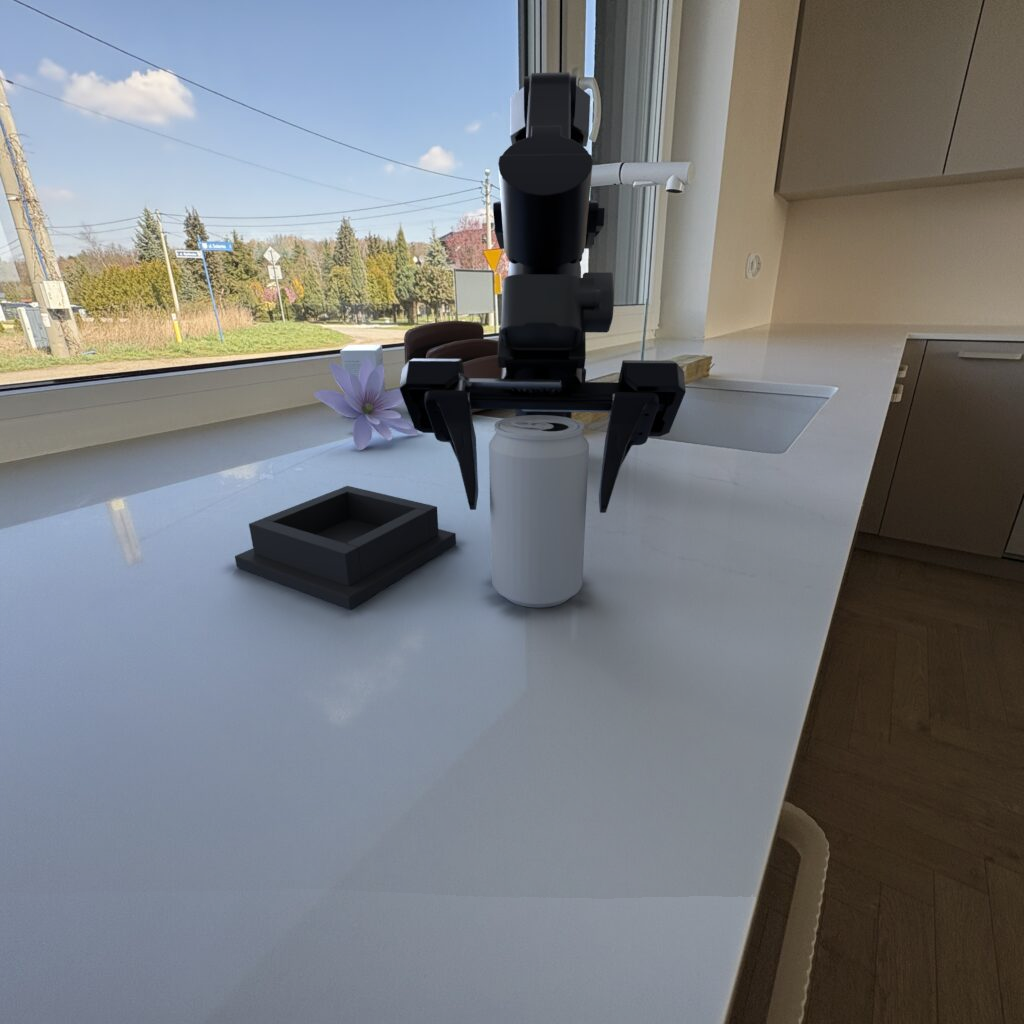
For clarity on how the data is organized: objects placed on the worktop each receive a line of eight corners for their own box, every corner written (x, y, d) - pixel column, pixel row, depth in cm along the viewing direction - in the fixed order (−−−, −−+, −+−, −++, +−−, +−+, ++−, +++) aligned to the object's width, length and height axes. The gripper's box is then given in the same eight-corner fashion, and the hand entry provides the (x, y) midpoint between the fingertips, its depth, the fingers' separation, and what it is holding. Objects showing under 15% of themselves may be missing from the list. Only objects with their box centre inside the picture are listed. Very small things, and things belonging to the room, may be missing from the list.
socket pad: (351, 515, 53) (347, 480, 52) (456, 543, 47) (454, 504, 46) (236, 567, 43) (227, 525, 42) (350, 610, 38) (344, 563, 36)
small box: (354, 407, 99) (348, 344, 95) (387, 406, 99) (382, 344, 95) (346, 417, 91) (338, 349, 87) (381, 416, 92) (375, 349, 88)
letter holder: (407, 412, 95) (400, 324, 89) (481, 395, 110) (479, 318, 104) (451, 420, 89) (448, 326, 84) (523, 400, 104) (524, 320, 99)
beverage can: (577, 618, 37) (586, 438, 32) (481, 608, 38) (477, 432, 33) (585, 572, 42) (594, 414, 38) (501, 564, 44) (500, 410, 39)
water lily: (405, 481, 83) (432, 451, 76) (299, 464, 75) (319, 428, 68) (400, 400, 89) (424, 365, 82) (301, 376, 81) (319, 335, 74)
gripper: (395, 226, 36) (357, 443, 29) (697, 225, 35) (723, 449, 28) (427, 344, 46) (404, 523, 40) (660, 346, 45) (674, 530, 39)
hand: (537, 508), depth 36 cm, fingers open, 8 cm apart
